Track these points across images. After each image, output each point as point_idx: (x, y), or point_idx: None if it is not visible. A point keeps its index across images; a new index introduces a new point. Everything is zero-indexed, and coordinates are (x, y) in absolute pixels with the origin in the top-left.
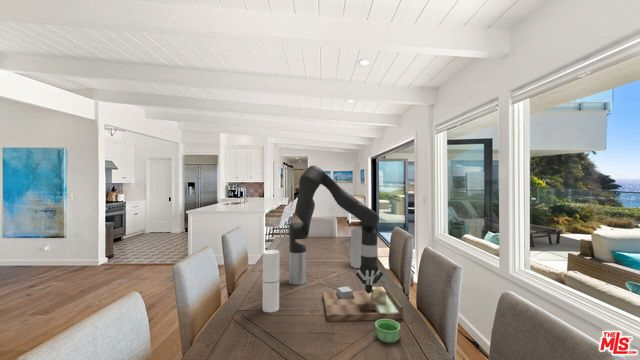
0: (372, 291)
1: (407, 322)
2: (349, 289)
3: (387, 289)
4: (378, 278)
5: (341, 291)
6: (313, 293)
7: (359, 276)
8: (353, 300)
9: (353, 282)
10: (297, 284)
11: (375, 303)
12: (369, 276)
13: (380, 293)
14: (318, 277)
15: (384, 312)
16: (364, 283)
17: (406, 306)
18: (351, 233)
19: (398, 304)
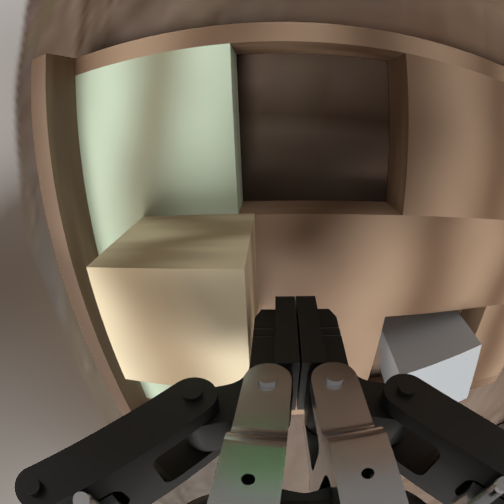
0: (249, 316)
1: (72, 40)
2: None
3: (112, 385)
4: (114, 442)
5: (478, 353)
6: (497, 383)
7: (499, 455)
8: (407, 287)
9: (288, 476)
10: (500, 425)
11: (236, 216)
12: (304, 501)
13: (158, 256)
14: (405, 480)
15: (190, 48)
16: (387, 380)
17: (44, 251)
18: None
19: (43, 107)
